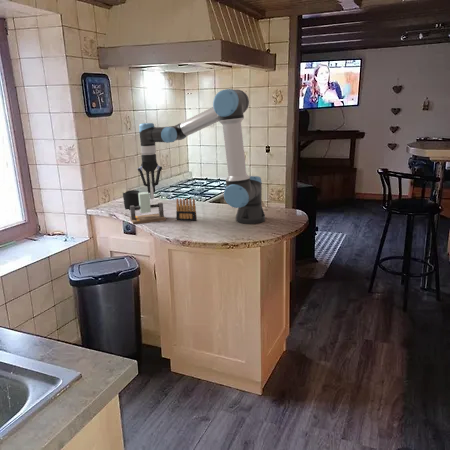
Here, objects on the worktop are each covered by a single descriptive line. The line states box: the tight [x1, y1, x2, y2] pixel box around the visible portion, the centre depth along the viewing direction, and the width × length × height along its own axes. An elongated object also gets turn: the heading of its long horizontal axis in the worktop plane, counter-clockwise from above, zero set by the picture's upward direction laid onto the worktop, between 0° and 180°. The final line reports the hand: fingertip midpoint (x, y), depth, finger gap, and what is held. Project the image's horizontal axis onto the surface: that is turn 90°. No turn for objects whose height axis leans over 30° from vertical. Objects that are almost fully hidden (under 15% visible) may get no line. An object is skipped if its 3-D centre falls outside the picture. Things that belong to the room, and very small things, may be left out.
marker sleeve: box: [138, 191, 152, 214], centre depth 227 cm, size 5×5×10 cm
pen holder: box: [122, 189, 140, 211], centre depth 256 cm, size 9×9×10 cm
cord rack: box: [129, 202, 167, 225], centre depth 229 cm, size 12×17×8 cm
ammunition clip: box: [175, 197, 198, 222], centre depth 225 cm, size 11×2×12 cm, turn 77°
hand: (152, 198), depth 229 cm, fingers closed
